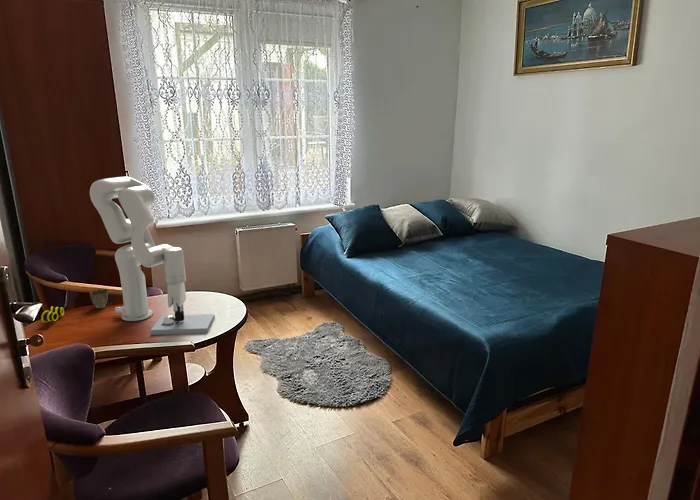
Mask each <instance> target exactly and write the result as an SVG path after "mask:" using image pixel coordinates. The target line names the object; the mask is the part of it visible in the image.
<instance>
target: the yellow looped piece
mask: <svg viewBox="0 0 700 500" xmlns="http://www.w3.org/2000/svg"><path fill="white" fill-rule="evenodd" d="M64 315H65V309H64V307H59V306H56V307H55V306H51V307H50V310H44V311H43V312H42V314H41V316H40V317H41V321H42V322H43V323H48V322H49V323H50V322H56V321H57V320H59V316H64Z"/></svg>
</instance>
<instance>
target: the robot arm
mask: <svg viewBox="0 0 700 500" xmlns="http://www.w3.org/2000/svg"><path fill="white" fill-rule="evenodd" d="M89 197H90V200H91V202H92V204H93V206H94V207H95V209H96V210H97V212H98V214H99V216H100V217H101V219H102V222H103V224H104V227H105V230H106V231H107V233H108V236H109V239H110V240H111V241H112V242H113V244H114V243H115V244H126V243H129V242H130V244H126V245H124V246H121V247H119V248H118V249H117V250H116V252H115V253H114V260H115V263H116V266H117V269H118V272H119V277H120V284H121V293H122V302H123V306H115V308H114V311H115V314H120V313H121V317H120V318H121V319H122V320H124V321H125V322H139V321H142V320H145V319H149V318H150V317H152V316H153V315H154V311H153V310H152V309H151V308H149V302H148V300H149V299H148V293H147V286H146V285H147V284H146V283H147V282H146V276H145V274H144V271H142V269H141V268H140V266H141V265H142V266H143V267H144V268H153V267H156V266H159V265H162V264H164V272H165V273H164V274H165V282H166V284H167V305H168V306H167V307H168V308H171V307H172V306H173V307H172V309H173V310H172V311H173V312H174V315H175V321H183V320H184V315H185V312H184V303H185V302H186V299H187V294H186V286H185V282H187V278H186V267H185V255H184V250H183V248H181V247H178V246H172V245H170V244H167V243H163V244H159V245H156V244H155V240H153V237H152V235H151V232H150V230H149V227H150V226H151V225H152V224H153V223H154V217H153V215H152V213H151V211H150V210H149V208H148V206H150V205H152V204H154V202H155V192H154V191H153V190H152V188H151V187H150V186H148V185H147V184H145V183H143V182H141V181H139V180H137V179H135V178H133V177H130V176H116V177H106V178H102V179H98V180H95V181H94V182H93V183H92V184H91V186H90V189H89ZM113 199H118V202H119V204H120V205H121V206H119V205H118V204H117V203H116V202H115V201H113ZM121 207H122V208H121ZM124 213H125V214H124ZM125 215H126V216H125ZM126 217H127V218H126Z"/></svg>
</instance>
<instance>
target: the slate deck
mask: <svg viewBox="0 0 700 500" xmlns="http://www.w3.org/2000/svg"><path fill="white" fill-rule="evenodd" d="M215 315H216V314H215V313H210V314H209V313H207V314H206V313H205V314H201V313H200V314H184V320H183V321H176V324H175V325H164V324H163V320H164V318H165V317H166V316H168V315H161V316H160V317H159V319H158V320H157V321H156V322H155V323H154V325H153V326H152V328H151V329H150V335H151V336H152V335H155V336H156V335H186V334H187V335H188V334H190V335H191V334H208V333H209V332H210V331H209V330H210V329H211V326H212V324H213V323H214V319H215V317H216V316H215ZM171 316H174V317H175V314H174V315H173V314H172V315H171Z"/></svg>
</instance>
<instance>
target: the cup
mask: <svg viewBox="0 0 700 500" xmlns="http://www.w3.org/2000/svg"><path fill="white" fill-rule="evenodd" d="M89 295H90V300H91V302H92V304H93V305H94V306H95V308H96V309H98V310H101V309H105V308H106V304H107V303H108V301H109V299H108V298H109V297H108V296H109V289H107V288H105V289H104V288H102V289H101V288H99V289H98V288H97V289H94V290H91V291H89Z"/></svg>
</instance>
